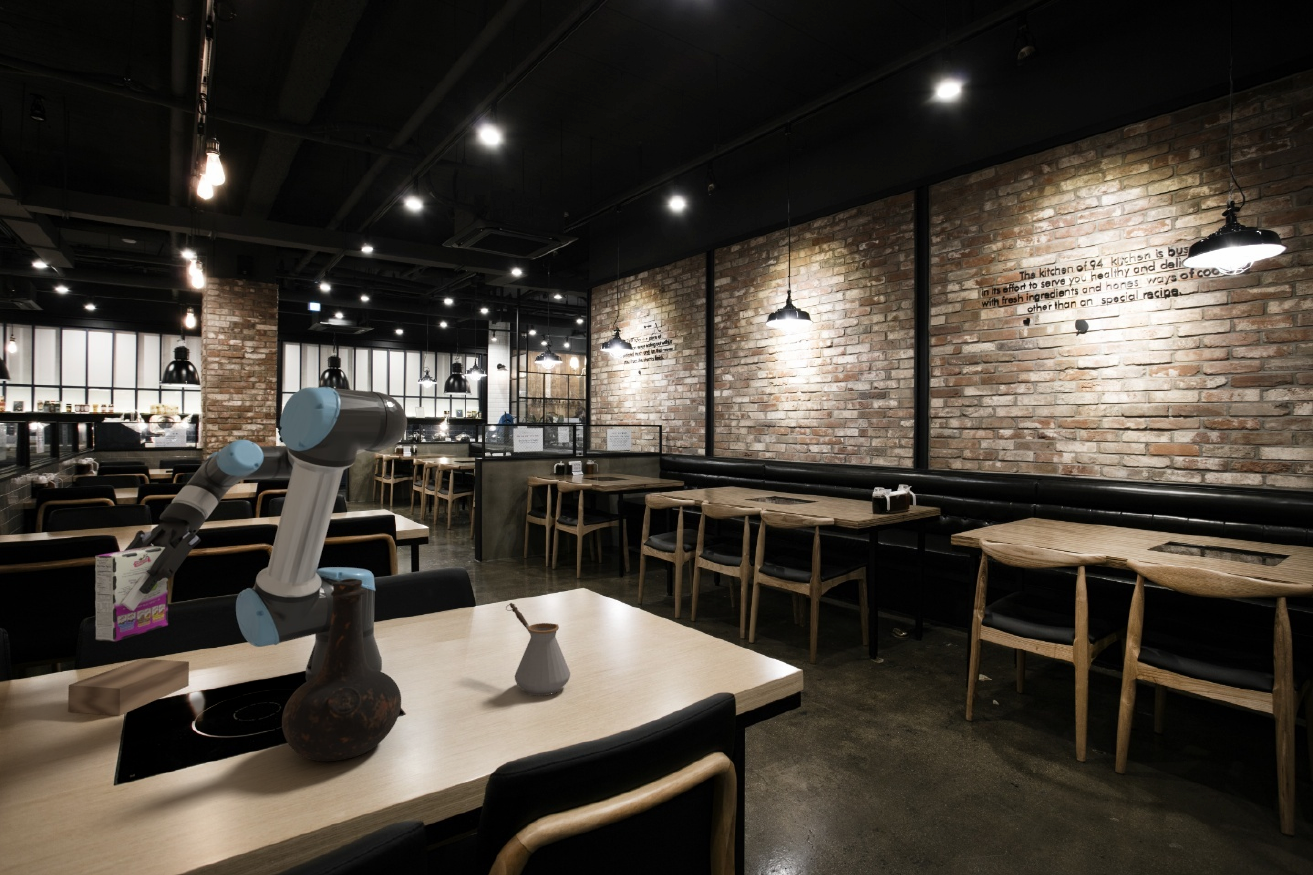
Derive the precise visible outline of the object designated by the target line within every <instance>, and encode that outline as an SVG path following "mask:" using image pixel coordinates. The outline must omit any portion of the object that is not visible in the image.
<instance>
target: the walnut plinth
mask: <svg viewBox="0 0 1313 875" xmlns="http://www.w3.org/2000/svg"><path fill="white" fill-rule="evenodd" d="M189 675H190V661H186V660H185V661H184V660H170V659H169V660H167V659H155V658H154V659H152V658H140V659H138V660H135V661H132V662H129V663H127V664H123V665H120V666H119V667H115V668H112V669H109V670H107V671H104V672H102V673H99V674H95V675H93V676H90V677H87V678H85V679H84V678H83V679H82V680H79V681H77V682H73V683H71V684H68V694H67V696H68V697H67V698H68V700H67V701H68V705H67V712H69V713H81V714H92V715H93V714H95V715H105V714H106V715H107V716H122V715H125V714H126V713H128V712H132V711H134V710H135V709H138V708H140V707H143V706H145V705H147V704H150V703H151V702H154V701H157V700H159V699H161V698H163V697H166V696H168V695H171V694H173V693H175V692H177V691H179V690H181V689H184V688H186V687H189V685H190V684H189V683H190V681H189V680H190V678H189Z"/></svg>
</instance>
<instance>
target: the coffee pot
mask: <svg viewBox="0 0 1313 875" xmlns="http://www.w3.org/2000/svg"><path fill="white" fill-rule="evenodd" d="M509 606H510V608H511V609H507V608H508V607H509ZM505 610H506V611H507V612H509V611H512V612H513V613H515V616H516V618H517V619H518V620H519V621H520V623H521V624H522V625H523V627H524V628H526V630H527V632H528V633H529V634H530V639H529V641H528V643H527V646H526V648H525V650H524V653H523V655H522V657H521V660H520V662H519V664H518V667H517V669H516V672H515V675H514V681H515V683H516V685H518V687H519V688H520V689H521V690H523V692H524V693H526V694H527V693H528V694H527V695H530V694H531V695H530V696H535V695H536V696H537V695H538V697H539V696H540V695H541V696H542V697H543V695H544V696H549V695H548V694H551V693H554V694H556V692H557V693H559V692H560V691H561V690H562V688H563V687H565V686H566V684H567V683H568V682H569V680H570V678H571V671H570V669H569V666H568V663H567V662H566V659H565V657H564V654H563V652H562V649H561V647H560V645H559V642H558V640H557V638H556V636H557V631H558V630H559V629H560V627H559V624H557V623H552V622H551V623H549V622H542V623H534V624H531V625H529V623H528V622H527V620H526V618H525V616H524V615H523V614H522V612H520V611H519V610H518V607H517V606H516V604H514V603H512V602H509V604H507V605H506V607H505ZM560 689H561V690H560ZM559 690H560V691H559ZM551 695H552V694H551ZM541 696H540V697H541Z"/></svg>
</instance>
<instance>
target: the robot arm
mask: <svg viewBox="0 0 1313 875" xmlns="http://www.w3.org/2000/svg"><path fill="white" fill-rule="evenodd" d="M279 427H280V428H281V429H280V431H279V432H280V433H279V434H280V438H281V440H282V443H283V444H284V445H278V446H277V445H275V446H274V445H258V444H257V443H255V442H252V441H251V440H248V439H237V440H235V441H232V442H230V443H229V444H227V445H225V446H224V447H222V448H221V449H220V451H215V452H212V453H211V454H210V455H209V456H208V457H207V458H206V459H205V460H204V461H203V462H202V463H201V465H200V466H199V468H198V469H197V470H196V472H195V473H194V474H193V475H192V477H191V478H190V479H189V481H188V482H187V483H186V484H185V485H184V486H183V487H182V488H181V489H180V491H179V492H178V493H177V494H176V495H175V497H174V498H173V499H172V500H171V503H170V504H168V505H167V506H166V507H165V509H164V511H163V512H161V514H160V516H159V522H158V524H157V525H156V526H155V527H153V528H152V529H151V530H150V531H144V530H141V529H140V530H138V531H137V532H136V534H135V536H134V538H133V539H132V541H131V542H130V543H129V544H128V545H127V546H126V548H125V549H124V550H123V551H126V550H131V549H137V548H143V547H149V546H160V547H165V549H164V550H163V551H162V552H161V554H160V555H159V556H158V558H157V559H156V560H155V562H154V564H153V566H152V568H151V570H147V573H148V574H150V575H149V576H148V575H147V574H143V576H142V577H141V578H140V579H139V581H138V582H137V583H136V585H135V586H134V587H133V588H132V590H131V591H130V592H129V594H128V595H127V596H126V597H125V599H124V600H123V601H122V604H123V605H124V606H125V607H127V608H128V609H129V610H130V611H134V610H135V608H136V607H137V606H138V604H139V603H140V602H141V600H142V599H143V598H144V596H145V595H146V594H148V593H149V592H150V591H151V590H152V589H153V587H154V586H155V585H156V583H157V582H158V581H160V580H162V579H163V578H167V579H168V580H169V579H171V578H173V576H174V575H175V573H176V572H177V571H178V569H179V568H180V567H181V565H182V564H183V562H184V561H185V560H186V558H187V557H188V556H189V554H190V553H191V551H192V550H193V549H194V548H195V547H196V546H197V545H198V544H199V543H200V542H201V541H202V540H201V538H200V537H199V536H198V535H197V532H199V530H200V529H201V527H202V526H203V525H204V523H205V522H206V520H207V519H208V518H209V516H210V515H211V514H212V513H213V511H214V510H215V509H216V507H217V506H218V505H219V504H220V501H221V500H223V498H224V496H226V494H227V493H228V492H229V491H230V489H231V488H232V487H234V486H235V485H237V484H239V483H240V482H241V481H243V480H265V479H267V480H268V479H270V480H271V479H289V482H288V486H287V490H286V494H285V498H284V502H283V505H282V510H281V514H280V518H279V521H278V522H279V523H278V526H277V531H276V533H275V539H274V542H273V545H272V549H271V554H270V557H269V558H270V559H269V562H268V566H267V567H265V568H263V569H261V571H260V570H259V572H258V574H257V575H256V577H255V582H254V586H253V587H252V588H251V587H248V588H246V589H243V590H242V591H240V592H239V593H238V595H237V598H236V602H235V612H236V613H235V614H236V619H237V623H238V626H239V629H240V632H241V634H242V636H243V637H244V639H245V640H246V641H247V642H248V643H249V644H250V646H253V647H256V648H262V647H268V646H276V645H279V644H281V643H284V642H285V643H286V642H289V641H293V640H298V639H301V638H305V637H309V636H313V635H315V640H314V645H313V646H312V647H313V648H312V650H311V653H310V656H309V659H308V662H307V664H306V667H305V681H306V682H307V681H309V680H310V679H312V678H313V677H315V676H316V675H317V674H318V672H319V671H320V669H321V667H322V664H323V661H324V657H325V654H326V649H327V644H328V639H329V632H330V625H331V616H332V606H333V596H331V593H332V591H333V583H334V582H338V581H341V580H344V579H359V580H362V586H361V588H364V589H366V590H367V592H366V593H365V594H363V595H361V609H362V632H363V645H364V653H365V658H366V662H367V664H368V666H369V668H371V669H375V670H378V671H381V672H382V668H383V659H382V656H381V653H380V650H379V646H378V644H377V640H376V638H375V633H374V632H375V630H374V629H375V628H374V626H375V621H374V620H375V592H376V585H375V576H374V574H373V573H372V571H370V570H368V569H365V568H359V567H358V568H357V567H346V566H345V567H341V566H340V567H339V566H337V567H333V566H332V567H331V566H330V567H321V568H318V567H319V563H320V559H321V556H322V551H323V548H324V544H325V541H326V538H327V534H328V533H327V532H328V529H329V525H330V522H331V519H332V514H333V512H334V507H335V503H336V499H337V497H338V496H337V495H338V492H339V488H340V486H341V481H342V476H343V474H344V471H345V470H346V469H348V468H350V467H352V466H353V465H354V464H355V462H356V458H357V455H359V454H363V453H364V452H367V453H378V452H381V451H384V450H386V449H389V448H392V447H394V446H395V445H396V444H398V443H399V442H401V440H402V439H403V437H404V436H405V434H406V430H407V429H408V428H407V427H408V419H407V415H406V411H405V410H404V408H403V406H402V405H401V403H399V402H398V401H397V399H395V398H394V397H392V396H390V395H389V394H386V393H383V392H378V391H371V390H368V391H367V390H359V389H358V390H356V389H346V388H344V389H343V388H335V387H333V388H332V387H330V386H321V387H316V386H315V387H303V388H301V389H299V390H298V391H296V392H294V393H293V394H292V395H291V396H290V397H289V399H288V400H287V401H286V403H285V404H284V407H283V409H282V412H281V416H280V421H279Z"/></svg>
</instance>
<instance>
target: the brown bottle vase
mask: <svg viewBox="0 0 1313 875" xmlns="http://www.w3.org/2000/svg"><path fill="white" fill-rule="evenodd" d="M361 586H362V580H359V579H344V580H341V581H338V582H334V583H333V591H332V593H331V596H333V606H332V616H331V625H330V632H329V639H328V644H327V649H326V654H325V657H324V661H323V664H322V667H321V669H320V671H319V672H318V674H317V675H316V676H315V677H313V678H312V679H310V680H309V681H306V682H304V683H303V684H302V685H300V686H299V687H298V688H297V689H296V690H295V691H293V693H292V694H291V695H290V697H289V698H288V700H287V702H286V704H285V706H284V708H283V712H282V717H281V727H282V732H283V736H284V739H285V741H286V743H287V744H288V746H289V747H291V749H292V750H293V751H294V752H295V753H296V754H298V755H299V756H301V757H303V758H305V759H308V760H312V761H317V762H335V761H341V760H348V759H352V758H355V757H358V756H360V755H363V754H365V753H368V752H369V751H371V750H373V749H374V748H375V747H377V746H378V745H379V744H380V743H381V742H383V740H385V738H386V737H387V736H388V735H389V734H390V733H391V730H392V729H393V727H394V726H395V725H396V722H397V721H398V717H399V715H400V713H401V707H402V694H401V690H400V688H399V686H398V684H397V682H396V681H395V680H394V679H393V678H392V677H391V676H390V675H388V674H386V673H385V672H382V670H381V671H378V670H375V669H371V668H369V666H368V664H367V662H366V658H365V653H364V645H363V632H362V609H361V595H363V594H365V593H366V592H367V590H366V589H364V588H361Z"/></svg>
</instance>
